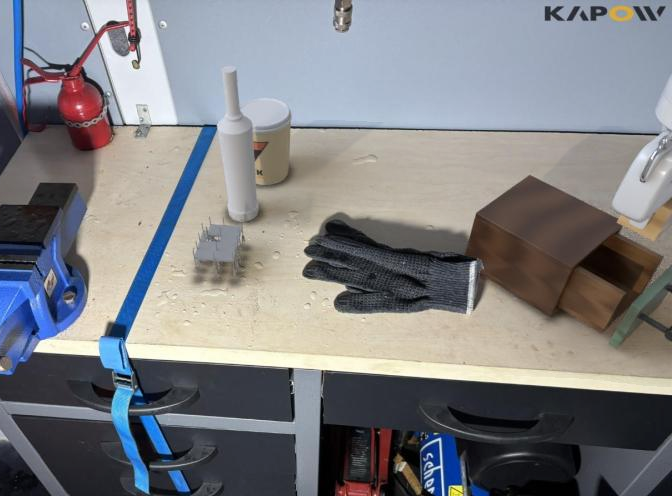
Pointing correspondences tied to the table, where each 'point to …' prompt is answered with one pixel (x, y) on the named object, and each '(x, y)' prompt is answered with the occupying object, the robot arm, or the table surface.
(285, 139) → the beige lidded tub
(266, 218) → the table surface
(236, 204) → the bottle
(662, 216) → the block
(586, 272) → the drawer
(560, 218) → the cabinet
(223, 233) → the building frame
